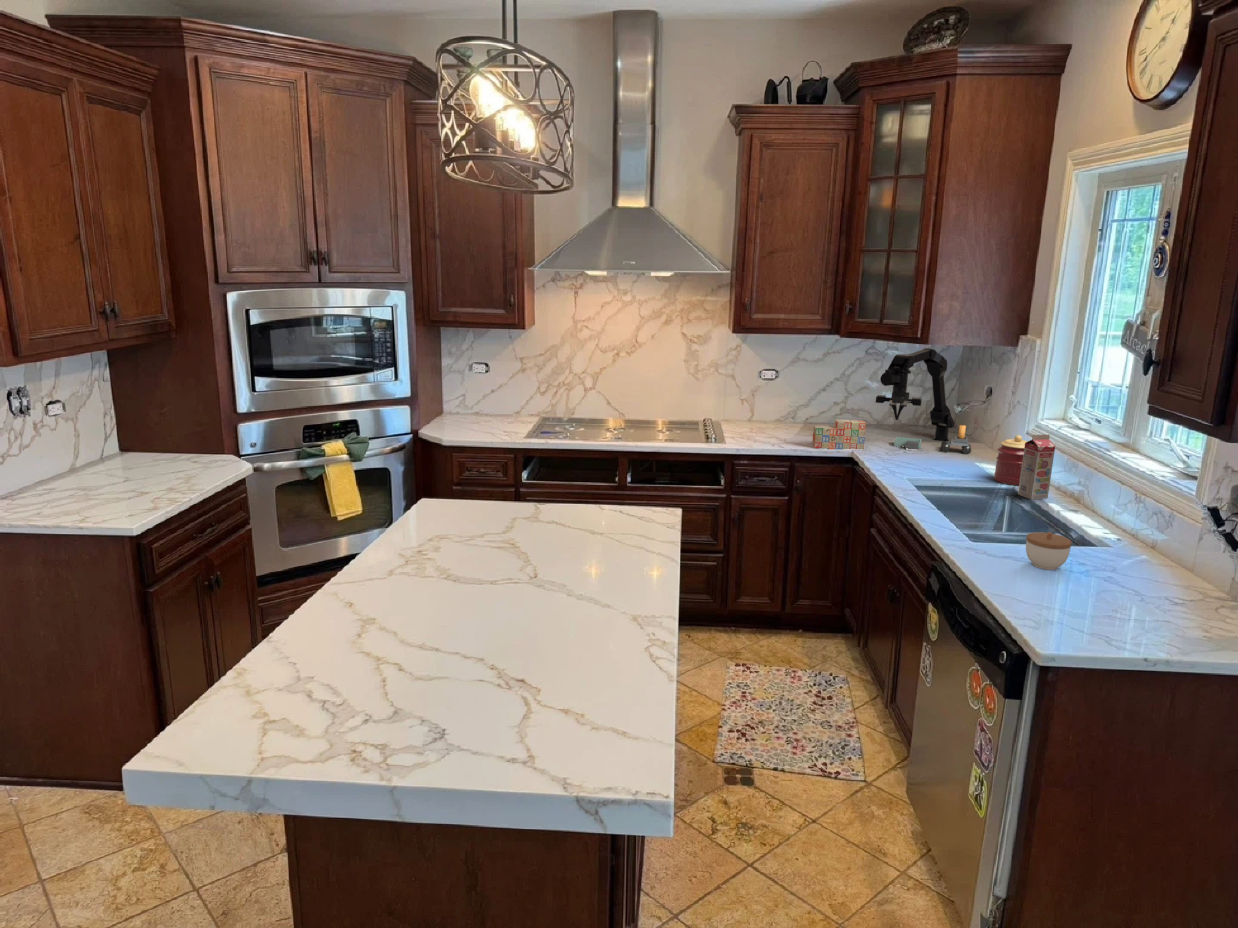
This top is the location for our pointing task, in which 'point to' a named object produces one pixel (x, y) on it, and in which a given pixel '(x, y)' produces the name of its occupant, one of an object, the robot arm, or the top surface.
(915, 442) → the block
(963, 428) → the pin
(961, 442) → the grey toy car
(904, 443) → the tray
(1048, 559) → the lidded jar
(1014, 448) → the canister
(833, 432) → the stack of blocks
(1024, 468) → the juice carton
